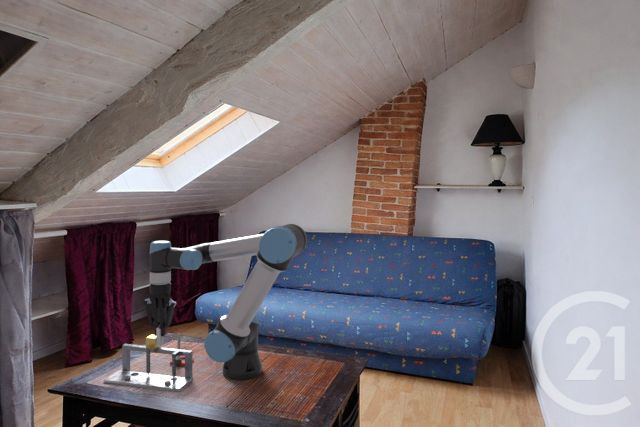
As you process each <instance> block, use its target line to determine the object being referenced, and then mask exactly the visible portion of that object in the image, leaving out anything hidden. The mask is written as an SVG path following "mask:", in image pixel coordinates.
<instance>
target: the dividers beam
mask: <svg viewBox="0 0 640 427" xmlns="http://www.w3.org/2000/svg"><path fill="white" fill-rule="evenodd" d="M121 348H122V349H121V355H122V356H121V357H122V361H121V362H122V363H121V364H122V366H121V368H122V369H121V370H124V371H131V351H132V352H133V351H135V352H144V353H146V345H141V344H133V343H132V344H130V343H124V344H122V346H121ZM150 353H154V354H163V355H171V361H172V365H171V376H172V377H173V378H175V376H176V377H177V366H176V357H177V356H178V355H180V356H185V359H184V362H185V366H184V378H192V379H193V362H192V358H193V350H190V349H182V348H180V349H177V348H170V347H161V346H160V347H158V348H157V349H151V350H150Z"/></svg>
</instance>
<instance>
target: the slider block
mask: <svg viewBox="0 0 640 427" xmlns="http://www.w3.org/2000/svg"><path fill="white" fill-rule="evenodd" d="M145 346H146V352H145V353H146V354H145V356H146V357H145V358H146V360H145V362H146V363H145V364H146V365H145V368H146V370H145V371H146V372H145V373H148V375H149V373H150V374H151V352H150V350H151V349H157V348H158V347H161V346H162V345H160V346H159V345H156V336H155V334H149V335H147V337H145Z"/></svg>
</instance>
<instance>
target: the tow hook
mask: <svg viewBox="0 0 640 427" xmlns="http://www.w3.org/2000/svg"><path fill="white" fill-rule="evenodd" d="M176 344H177V345H176V349H181V333H178V334H177V340H176ZM182 360H185V356H180V355H178V356H177V357H176V367H185V361H183V362H182ZM194 361H195V360H194V357H192V363H193V362H194ZM169 365H170V366H172V360H171V361H170V362H169Z"/></svg>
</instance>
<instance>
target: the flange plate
mask: <svg viewBox="0 0 640 427" xmlns="http://www.w3.org/2000/svg"><path fill="white" fill-rule="evenodd" d="M192 379H193V377H192V378H185V376H184V377H183V376H182V377H181V376H177V375H176V376H175V378H173V377H172V375H166V374H158V373H151V372H150V373H149V375H148V373H146V372H140V371H132V370H130V371H124V370H122V369H119V370H117V371H115V372H114V373H112V374H110V375H109V376H108V377H106V378H104V379H103V383H107V384H113V385H114V384H115V385H121V386H131V387H139V388H147V389H153V390H161V391H171V392H176V393H177V392H178V393H180V392H182V390H184V389H185V388H186V387H187V386H188V385H189V384H190V383H191V382H192V381H193V380H192Z"/></svg>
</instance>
